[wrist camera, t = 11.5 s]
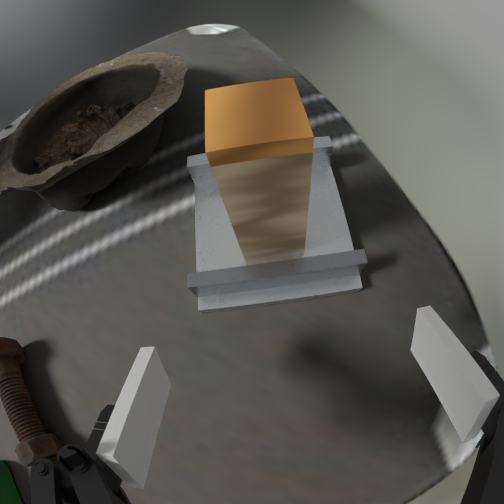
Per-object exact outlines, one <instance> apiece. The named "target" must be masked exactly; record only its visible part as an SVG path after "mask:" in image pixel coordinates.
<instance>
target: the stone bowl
mask: <svg viewBox="0 0 504 504" xmlns="http://www.w3.org/2000/svg"><path fill="white" fill-rule="evenodd" d="M187 70H188V69H187V65H184V61H183V60H182V59H180V56H179V55H167V53H161V52H157V53H154V52H153V53H152V52H148V53H138V54H130V55H125V56H121V57H119V58H116V59H114V60H112V61H110V62H104V63H102V64H99V65H96V66H93V67H91V68H90V69H88V70H86V71H84V72H82V73H80V74H79V75H77V76H75V77H73V78H72V79H70V80H69V81H67V82H65V83H64V84H62V85H60V86H58V87H56V88H55V89H54V90H53V91H51V92H50V93H49V94H47V95H46V96H45V97H44V98H42V99H41V100H40V101H39V102H38V103H37V104H36V105H35V106H34V107H33V108H32V109H31V111H30V112H29V114H28V115H27V116H26V117H25V118H24V119H23V120H22V121H21V123H20V124H19V126H18V127H17V129H16V130H15V132H14V133H12V134H10V135H9V136H8V137H6V138H3V139H1V140H0V196H1V195H3V194H6V193H8V192H12V191H14V190H16V189H18V190H28V191H34V192H36V193H37V194H38V195H39V196H40V197H41V198H42V199H43V200H45V201H46V202H47V203H48V204H50V205H51V206H53V207H55V208H57V209H58V210H70V211H72V210H77V209H80V208H82V207H84V206H85V205H86V204H87V203H88V202H89V200H90V199H91V197H92V195H93V194H94V192H98V191H101V190H103V189H104V188H105V187H106V186H107V185H108V184H109V183H111V182H112V181H113V180H114V179H115V178H116V177H117V176H118V175H119V174H120V173H121V172H122V171H123V170H124V169H125V168H126V167H129V168H136V167H140V166H142V165H143V164H144V163H145V162H146V160H147V159H148V158H149V157H150V156H151V155H152V153H153V151H154V149H155V148H156V146H157V143H158V140H159V137H160V135H161V132H162V126H163V118H164V111H165V110H167V109H168V108H169V107H170V106H171V105H172V104H174V103H176V102H177V101H178V99H179V97H180V95H181V91H182V88H183V86H184V80H183V79H184V76H185V74H186V71H187Z"/></svg>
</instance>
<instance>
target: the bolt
mask: <svg viewBox="0 0 504 504" xmlns="http://www.w3.org/2000/svg"><path fill="white" fill-rule="evenodd" d="M25 360H26V357H25V354H24V351H23V349H22V347H21V345H20V344H19V343H18V342H17V341H16V340H14V339H11V338H5V337H0V397H1V400H2V403H3V405H4V408H5V411H6V412H7V415H8V418H9V420H10V422H11V425H13V428H14V431H15V432H16V435H18V436H17V438H19V441H20V442H21V443H19V444H18V445H17V447H16V450H15V452H16V454H17V456H18V458H19V460H20V462H21V463H23V464H24V465H26V466H32V465H33V464H34V462H36V461H37V460H39V459H41V458H46V459H48V460H50V461H51V462H52V463H53V464H54V465H58V464H59V463H58V462H57V454H58V451H59V450H60V449H61V448H62V447H63V446H62V444H61V442H60V441H59V439H58V437H57V436H56V435H54V434H52V433H47V432H45V431H46V429H44V426H42V424H43V423H42V422H41V419H39V418H40V417H39V416H38V413H37V411H36V409H35V406H33V405H34V404H33V403H32V400H31V397H30V396H29V395H30V394H29V393H28V390H27V387H26V385H25V383H24V380H23V377H22V372H21V369H20V367H19V365H21V364H22V363H23V362H24V361H25Z"/></svg>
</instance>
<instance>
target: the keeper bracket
mask: <svg viewBox="0 0 504 504" xmlns="http://www.w3.org/2000/svg"><path fill="white" fill-rule="evenodd" d="M332 150H333V145H332V142H331V139H330V137H329V136H326V137H315V138H314V144H313V159H312V173H311V186H310V198H309V209H308V220H307V230H306V240H305V250H304V251H303V252H296V253H288V254H281V255H274V256H267V257H260V258H253V259H245V260H244V257H243V254H242V251H241V249H240V246H239V243H238V241H237V238H236V235H235V233H234V230H233V227H232V224H231V222H230V219H229V216H228V213H227V211H226V208H225V205H224V203H223V200H222V197H221V194H220V192H219V189H218V186H217V183H216V181H215V178H214V175H213V172H212V170H211V167H210V164H209V161H208V159H207V156H206V153H203V154H198V155H193V156H188V157H187V168H188V171H189V173H190V175H191V177H192V179H193V181H194V184H195V230H196V265H197V272H195V273H187V286H188V288H189V289H190V290H191V291H192V292H193V293H194V294H195V295H196V296H197V297H198V308H199V311H200V312H201V313H208V312H217V311H226V310H235V309H243V308H251V307H259V306H267V305H275V304H282V303H289V302H296V301H303V300H310V299H316V298H323V297H329V296H335V295H341V294H347V293H353V292H359V291H360V290H361V289H362V288H363V287H362V283H361V278H360V274H361V272H362V270H363V269H364V267H365V266H366V264H367V263H368V262H367V258H366V254H365V250H364V249H359V250H354V248H353V244H352V240H351V236H350V232H349V228H348V224H347V221H346V217H345V213H344V210H343V206H342V203H341V199H340V196H339V192H338V189H337V185H336V182H335V179H334V176H333V172H332V169H331V166H330V164H331V157H332Z"/></svg>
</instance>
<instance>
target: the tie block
mask: <svg viewBox="0 0 504 504" xmlns="http://www.w3.org/2000/svg"><path fill="white" fill-rule="evenodd" d="M313 144H314V135H313V132H312V129H311V126H310V123H309V120H308V118H307V115H306V112H305V109H304V106H303V103H302V100H301V98H300V95H299V92H298V89H297V87H296V84H295V81H294V79H293V78H283V79H274V80H265V81H257V82H250V83H244V84H237V85H231V86H225V87H220V88H214V89H209V90H205V153H206V156H207V159H208V161H209V164H210V167H211V170H212V172H213V175H214V178H215V181H216V183H217V186H218V189H219V192H220V194H221V197H222V200H223V203H224V205H225V208H226V211H227V213H228V216H229V219H230V222H231V224H232V227H233V230H234V233H235V235H236V238H237V241H238V243H239V246H240V249H241V251H242V254H243V257H244V260H245V259H253V258H260V257H267V256H274V255H281V254H288V253H296V252H303V251H304V250H305V240H306V230H307V220H308V209H309V198H310V186H311V173H312V159H313Z"/></svg>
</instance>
